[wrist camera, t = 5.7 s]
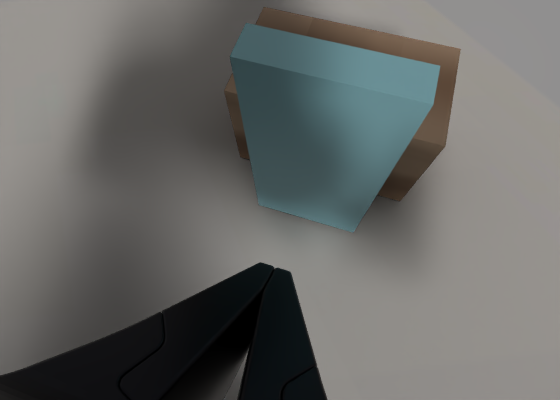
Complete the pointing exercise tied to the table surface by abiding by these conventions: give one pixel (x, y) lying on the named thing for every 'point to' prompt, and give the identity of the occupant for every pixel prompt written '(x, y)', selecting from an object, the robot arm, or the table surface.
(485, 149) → the table surface
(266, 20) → the socket block
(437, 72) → the pale blue board
